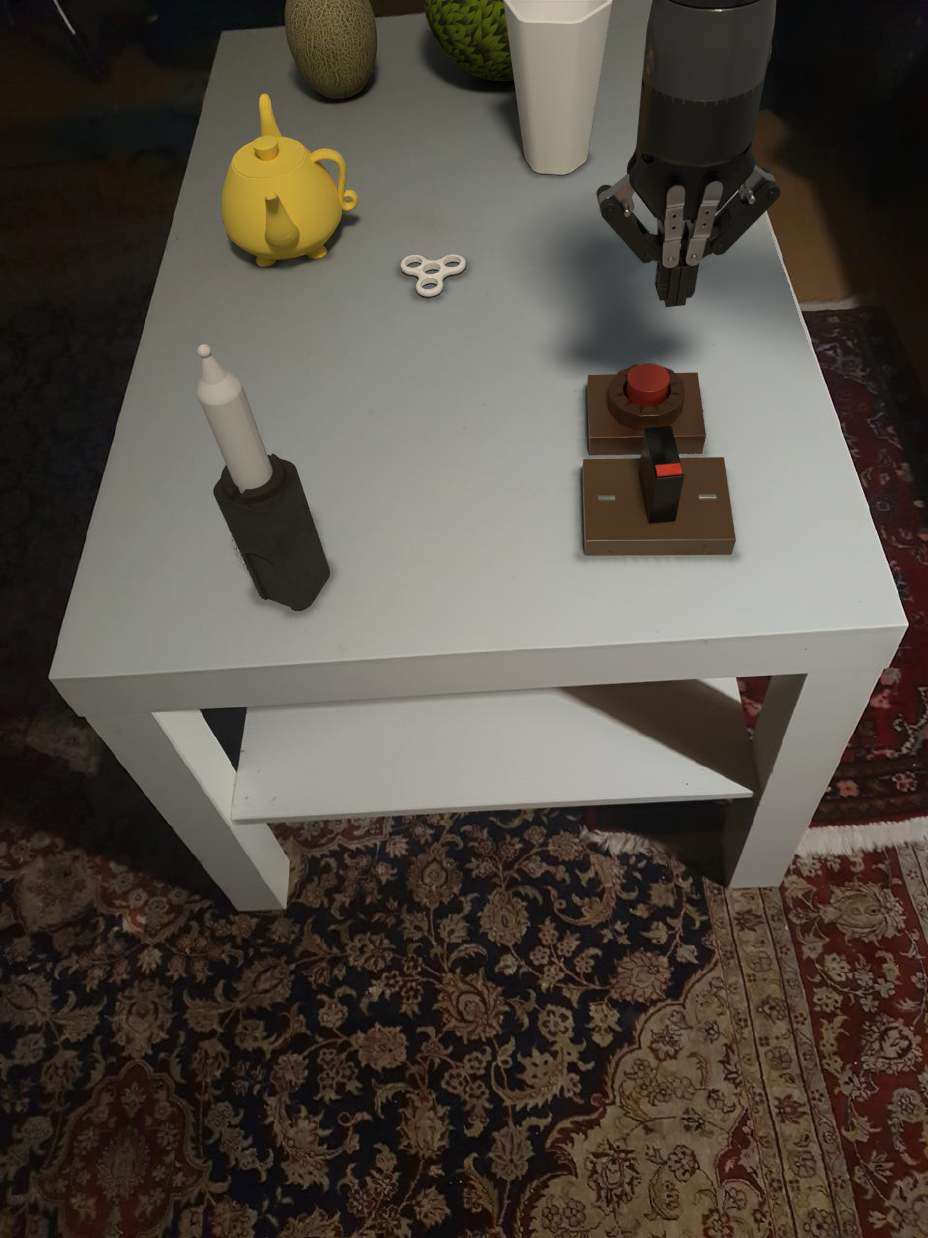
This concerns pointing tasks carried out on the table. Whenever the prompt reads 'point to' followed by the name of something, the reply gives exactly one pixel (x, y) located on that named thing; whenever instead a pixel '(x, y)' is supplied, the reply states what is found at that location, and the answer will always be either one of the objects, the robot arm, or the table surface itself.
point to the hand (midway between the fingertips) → (672, 299)
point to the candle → (261, 496)
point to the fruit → (332, 43)
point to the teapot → (282, 195)
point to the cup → (556, 76)
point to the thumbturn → (660, 474)
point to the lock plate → (623, 517)
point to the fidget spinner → (432, 278)
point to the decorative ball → (473, 35)
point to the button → (647, 384)
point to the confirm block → (643, 414)
